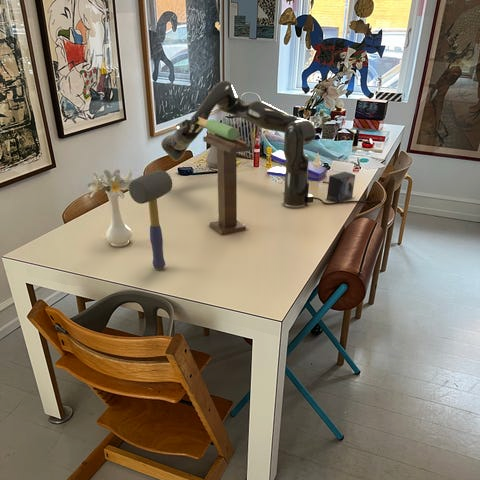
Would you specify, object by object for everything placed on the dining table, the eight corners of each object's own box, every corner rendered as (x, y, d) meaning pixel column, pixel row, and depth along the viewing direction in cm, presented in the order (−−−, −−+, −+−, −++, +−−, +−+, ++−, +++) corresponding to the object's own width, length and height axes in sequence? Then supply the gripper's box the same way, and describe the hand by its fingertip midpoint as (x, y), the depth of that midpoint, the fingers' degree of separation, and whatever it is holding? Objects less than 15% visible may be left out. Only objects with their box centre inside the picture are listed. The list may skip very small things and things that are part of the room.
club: (191, 125, 179) (191, 114, 177) (201, 124, 181) (201, 113, 178) (227, 140, 159) (227, 128, 156) (238, 139, 160) (238, 126, 158)
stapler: (275, 168, 249) (276, 149, 244) (327, 175, 238) (329, 155, 233) (266, 174, 240) (267, 154, 235) (319, 181, 230) (321, 160, 224)
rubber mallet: (156, 279, 146) (145, 181, 129) (137, 273, 149) (124, 177, 133) (180, 263, 155) (173, 170, 138) (162, 258, 158) (153, 166, 142)
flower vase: (148, 235, 175) (140, 165, 161) (123, 255, 160) (112, 180, 146) (116, 230, 178) (106, 162, 164) (89, 250, 163) (75, 177, 150)
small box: (337, 203, 204) (340, 178, 198) (325, 199, 208) (328, 175, 202) (353, 198, 209) (356, 174, 204) (341, 194, 213) (344, 170, 208)
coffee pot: (202, 167, 251) (201, 137, 242) (211, 162, 260) (210, 133, 251) (240, 171, 244) (240, 141, 236) (248, 166, 253) (248, 136, 245)
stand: (204, 222, 186) (200, 134, 168) (226, 217, 190) (225, 131, 172) (228, 239, 171) (227, 145, 153) (252, 234, 175) (254, 142, 158)
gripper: (166, 126, 187) (181, 108, 172) (199, 122, 193) (215, 105, 177) (171, 145, 188) (186, 129, 172) (203, 141, 194) (220, 125, 178)
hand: (201, 117), depth 175 cm, fingers closed on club, 2 cm apart
